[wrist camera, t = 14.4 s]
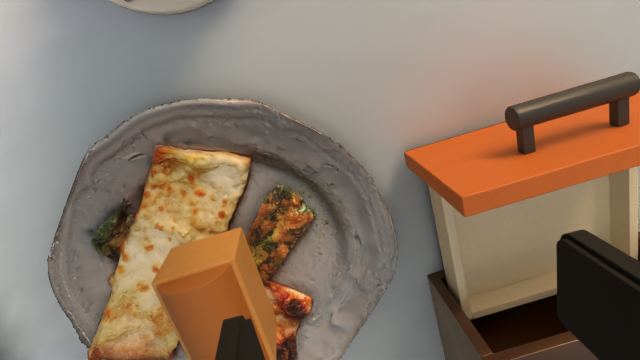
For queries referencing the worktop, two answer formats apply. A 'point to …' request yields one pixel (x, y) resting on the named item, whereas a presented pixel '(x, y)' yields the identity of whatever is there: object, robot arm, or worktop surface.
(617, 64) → the worktop surface
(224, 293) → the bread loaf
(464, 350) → the cabinet
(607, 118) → the drawer
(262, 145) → the food plate
